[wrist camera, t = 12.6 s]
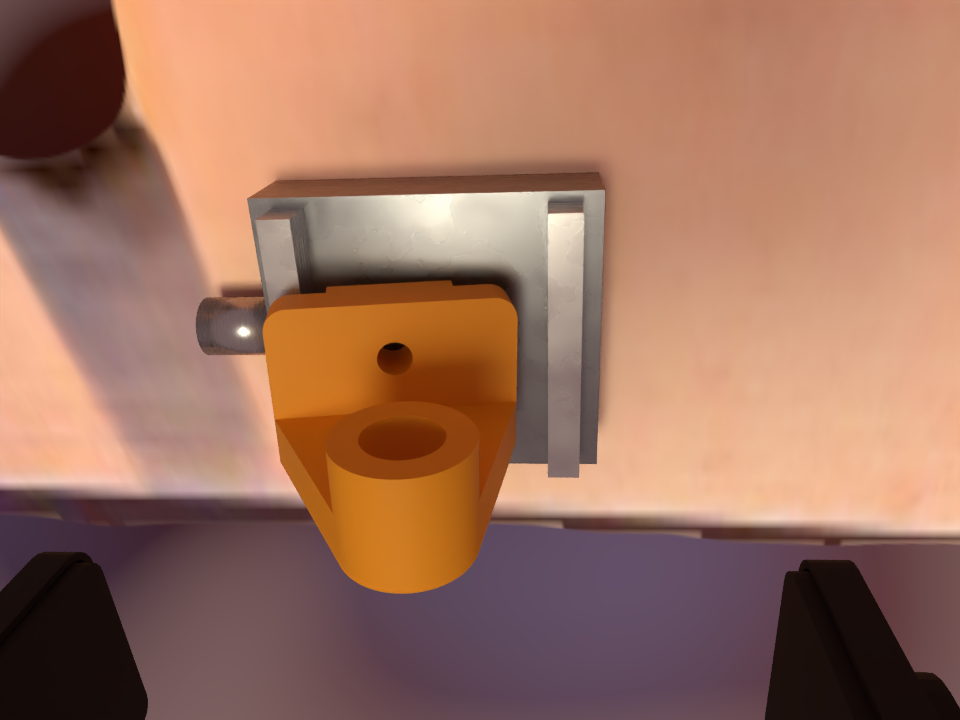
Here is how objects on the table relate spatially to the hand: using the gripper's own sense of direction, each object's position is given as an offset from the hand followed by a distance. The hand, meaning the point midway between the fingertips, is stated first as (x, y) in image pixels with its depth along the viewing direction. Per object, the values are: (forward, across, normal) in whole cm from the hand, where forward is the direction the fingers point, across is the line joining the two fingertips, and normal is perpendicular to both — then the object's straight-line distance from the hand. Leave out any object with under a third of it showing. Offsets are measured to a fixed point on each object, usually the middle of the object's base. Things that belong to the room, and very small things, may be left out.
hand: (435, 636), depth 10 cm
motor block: (+29, +6, +6) cm, 30 cm away
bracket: (+24, +6, +7) cm, 25 cm away
